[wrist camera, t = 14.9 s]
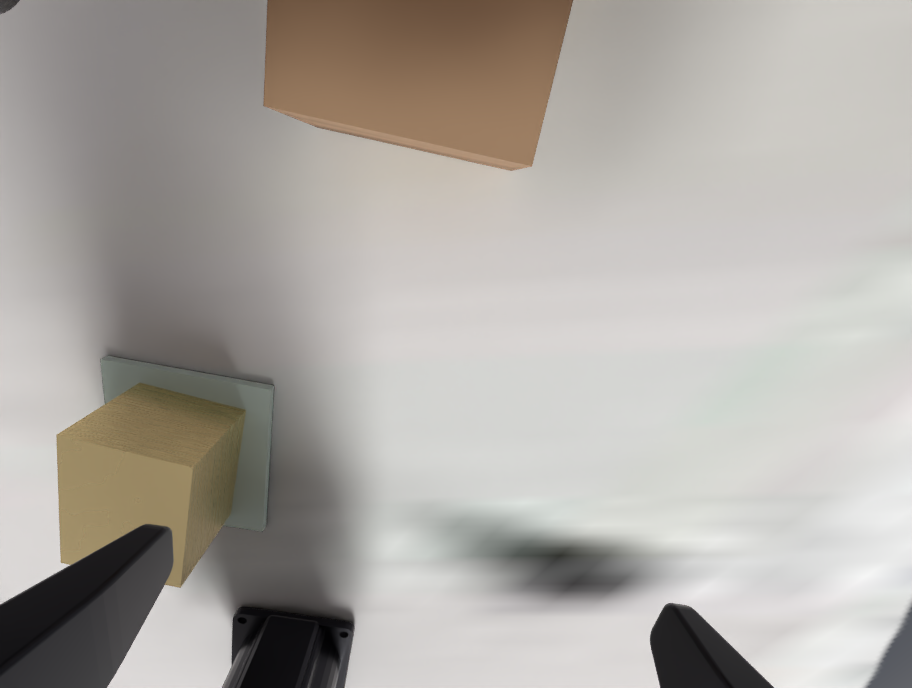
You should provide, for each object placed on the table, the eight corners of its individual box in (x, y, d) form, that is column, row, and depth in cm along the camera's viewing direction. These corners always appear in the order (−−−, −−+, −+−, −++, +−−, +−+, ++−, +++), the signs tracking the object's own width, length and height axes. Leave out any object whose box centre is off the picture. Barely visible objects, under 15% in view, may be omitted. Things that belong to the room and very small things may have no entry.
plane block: (511, 170, 15) (531, 166, 11) (317, 127, 15) (263, 106, 11) (567, -72, 13) (621, -195, 9) (338, -133, 12) (278, -295, 8)
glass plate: (266, 525, 21) (262, 531, 21) (121, 503, 21) (115, 509, 20) (273, 385, 18) (270, 389, 18) (107, 355, 18) (100, 359, 18)
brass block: (230, 513, 21) (180, 587, 17) (134, 491, 20) (60, 562, 16) (246, 409, 18) (192, 467, 15) (139, 382, 18) (56, 435, 14)
